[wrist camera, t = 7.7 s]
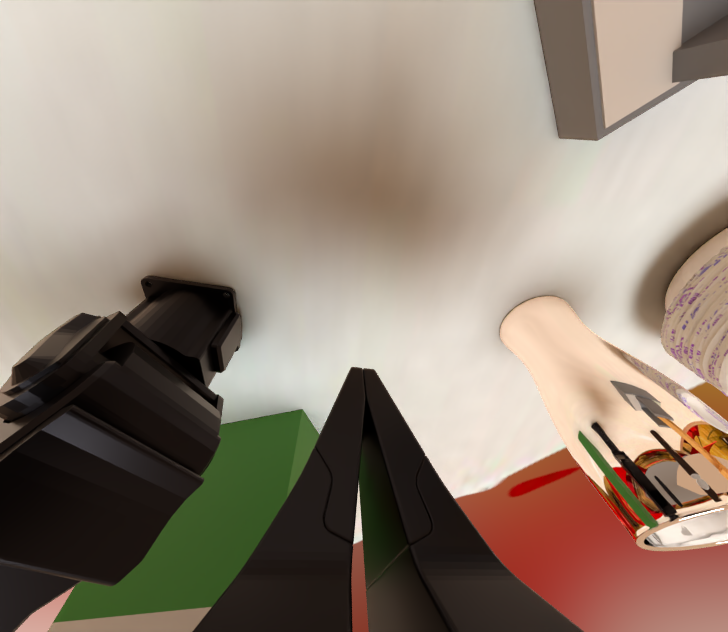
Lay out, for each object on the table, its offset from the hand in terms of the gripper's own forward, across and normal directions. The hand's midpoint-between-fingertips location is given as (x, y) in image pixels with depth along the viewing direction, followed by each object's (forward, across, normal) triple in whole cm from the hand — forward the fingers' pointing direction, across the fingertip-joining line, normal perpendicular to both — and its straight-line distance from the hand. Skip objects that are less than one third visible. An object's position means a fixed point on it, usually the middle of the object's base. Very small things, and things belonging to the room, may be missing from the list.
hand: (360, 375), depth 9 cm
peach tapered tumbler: (+12, -17, +4) cm, 21 cm away
